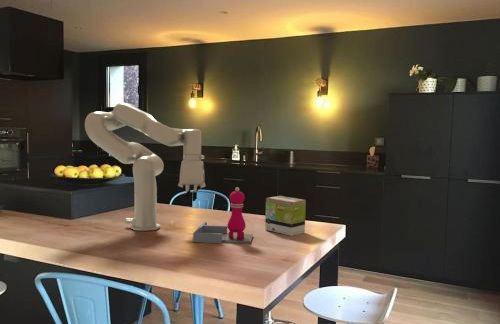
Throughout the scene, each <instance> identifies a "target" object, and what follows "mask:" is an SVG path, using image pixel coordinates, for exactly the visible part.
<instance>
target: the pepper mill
mask: <svg viewBox="0 0 500 324" xmlns="http://www.w3.org/2000/svg"><path fill="white" fill-rule="evenodd" d="M245 198H246V197H245V194H244V193H243V192H242V191H240V188H239V187H238V186H236V187H235V189H234V191H232V192H231V193H230V194H229V201H230V202H231V203H230V207H231V215H230V217H229V219H228V222H227V225H226V226H227V230H228V231H229V232H228V233H229V238H233V232H237V239H240V238H243V237H244V234H245V232H244V231H245V229H246V222H245V221H246V220H245V219H244V217H243V207H244V203H243V202H244V201H245Z"/></svg>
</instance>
